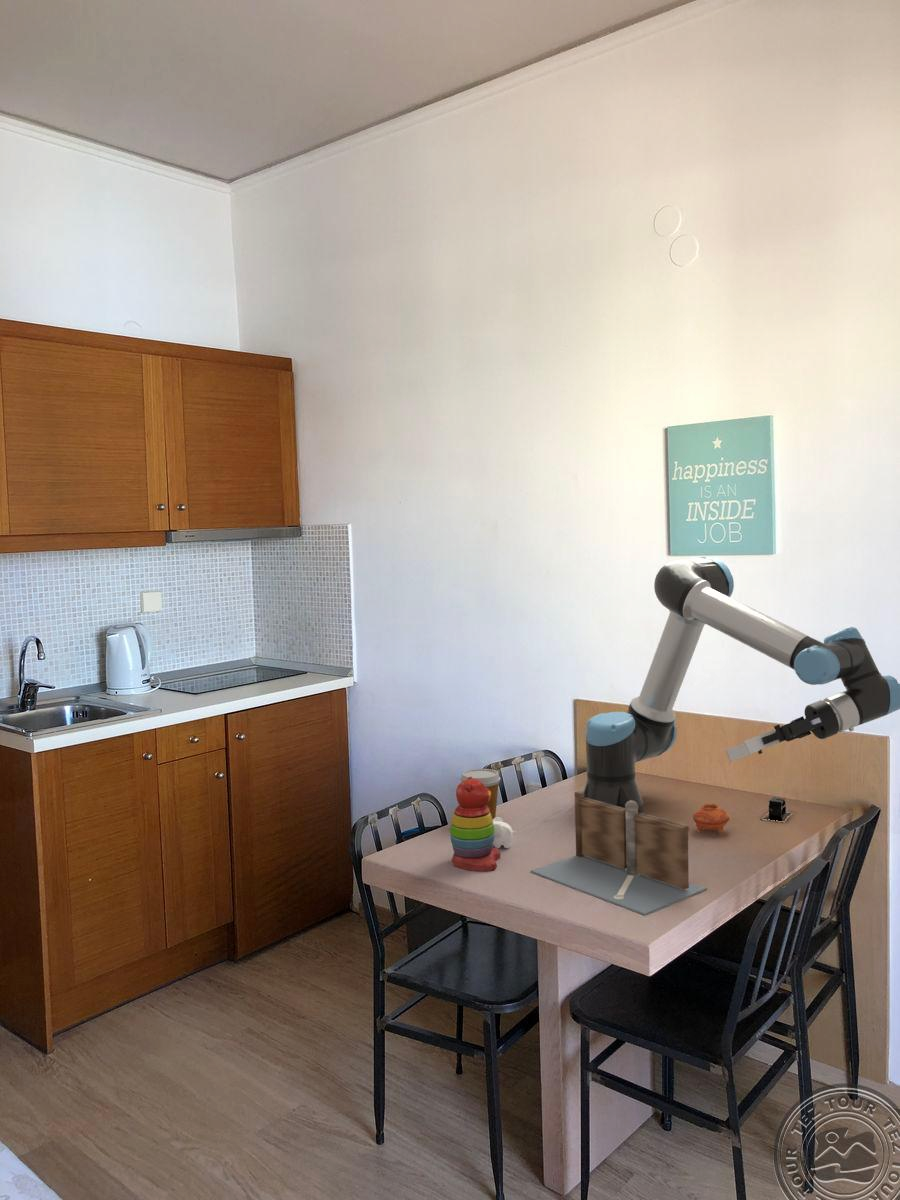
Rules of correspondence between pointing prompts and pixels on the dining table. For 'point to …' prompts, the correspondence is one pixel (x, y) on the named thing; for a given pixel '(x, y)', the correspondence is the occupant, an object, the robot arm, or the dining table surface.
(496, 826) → the elephant figurine
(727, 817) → the pot
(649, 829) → the hinged fence panel
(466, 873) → the dining table surface
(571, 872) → the card
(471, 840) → the stacking bear
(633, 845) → the fixed fence
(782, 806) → the black box
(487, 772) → the disposable coffee cup
